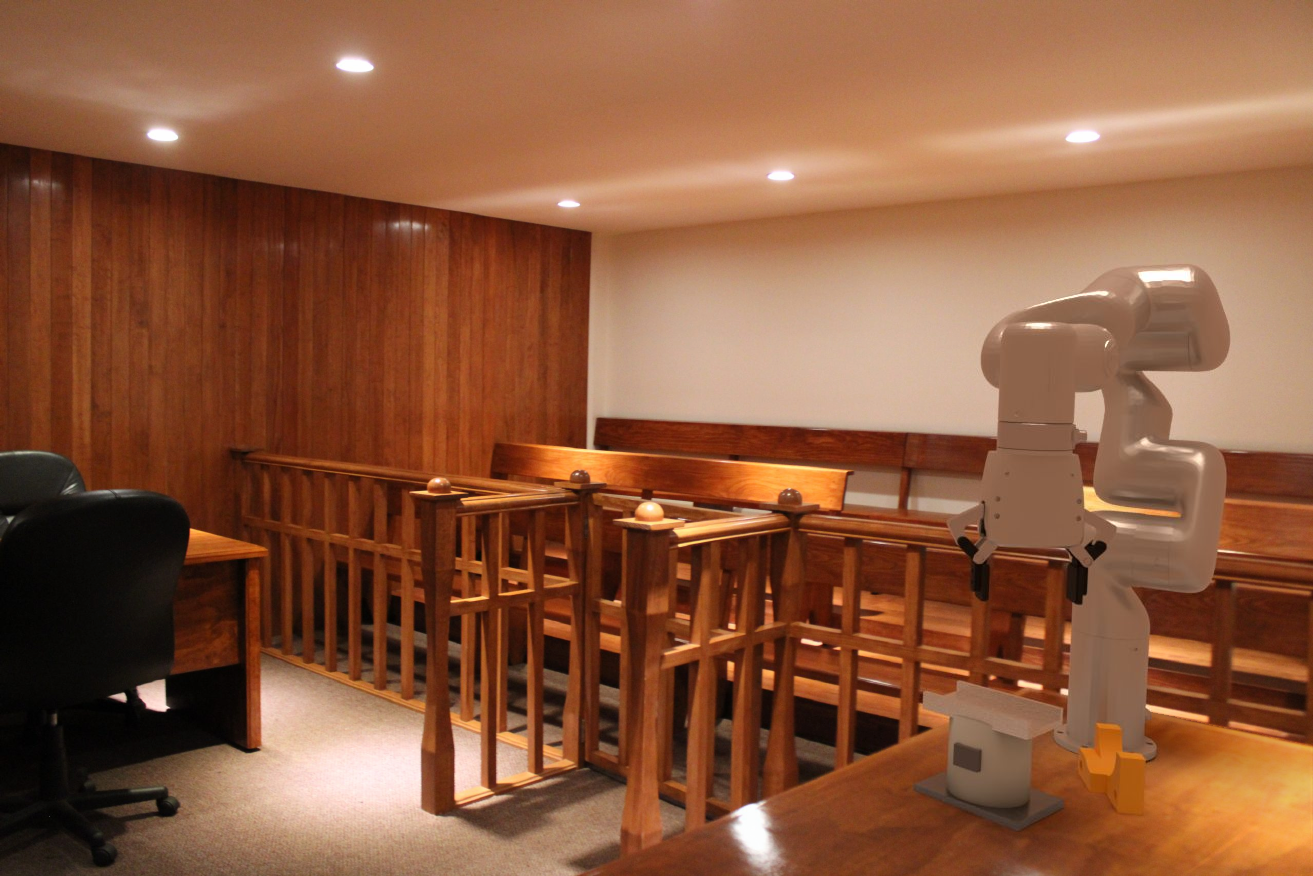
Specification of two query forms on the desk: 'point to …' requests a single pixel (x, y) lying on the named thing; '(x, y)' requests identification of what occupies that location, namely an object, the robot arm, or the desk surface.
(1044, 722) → the cylinder with tray top
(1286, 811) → the desk surface
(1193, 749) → the desk surface
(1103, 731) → the pipe clamp
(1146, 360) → the robot arm
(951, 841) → the desk surface
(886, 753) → the desk surface
